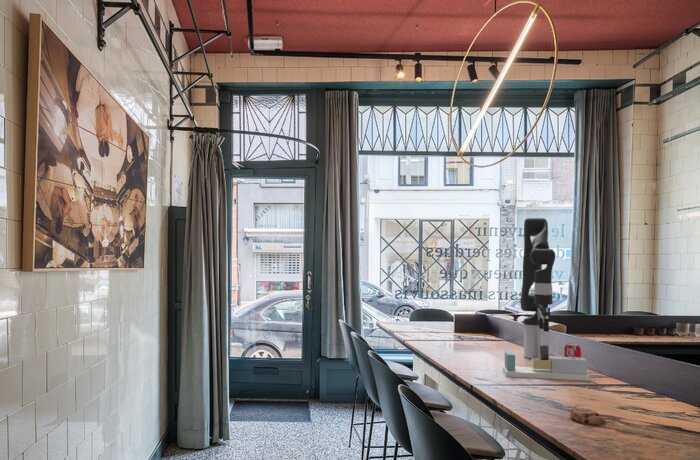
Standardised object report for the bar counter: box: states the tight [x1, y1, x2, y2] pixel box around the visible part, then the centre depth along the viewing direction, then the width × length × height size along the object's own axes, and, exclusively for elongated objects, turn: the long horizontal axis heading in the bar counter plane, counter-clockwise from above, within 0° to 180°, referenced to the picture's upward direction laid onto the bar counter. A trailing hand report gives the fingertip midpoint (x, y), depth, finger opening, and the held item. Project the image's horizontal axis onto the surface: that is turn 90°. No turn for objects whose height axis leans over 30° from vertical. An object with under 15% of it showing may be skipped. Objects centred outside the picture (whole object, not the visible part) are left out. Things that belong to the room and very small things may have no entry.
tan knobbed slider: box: [531, 344, 552, 370], centre depth 207 cm, size 4×20×10 cm, turn 80°
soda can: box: [563, 342, 582, 358], centre depth 219 cm, size 7×7×12 cm
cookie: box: [570, 407, 606, 426], centre depth 149 cm, size 10×11×3 cm
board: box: [502, 365, 591, 382], centre depth 207 cm, size 12×34×2 cm, turn 80°
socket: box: [504, 350, 516, 371], centre depth 210 cm, size 8×3×7 cm, turn 170°
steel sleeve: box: [549, 355, 588, 374], centre depth 206 cm, size 6×14×6 cm, turn 80°
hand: (543, 330), depth 209 cm, fingers open, 8 cm apart
